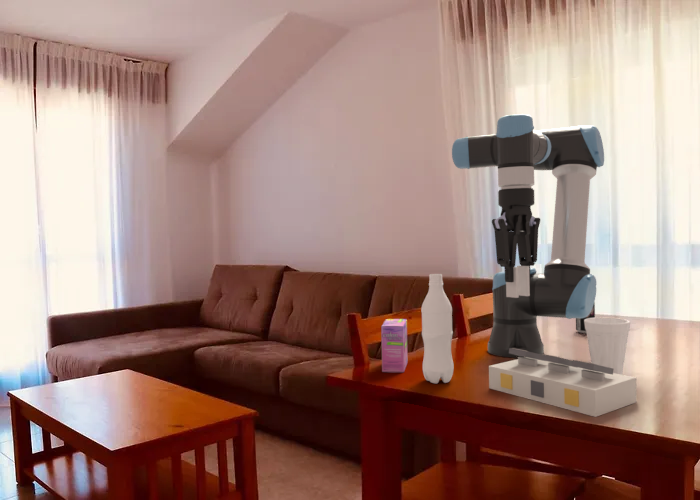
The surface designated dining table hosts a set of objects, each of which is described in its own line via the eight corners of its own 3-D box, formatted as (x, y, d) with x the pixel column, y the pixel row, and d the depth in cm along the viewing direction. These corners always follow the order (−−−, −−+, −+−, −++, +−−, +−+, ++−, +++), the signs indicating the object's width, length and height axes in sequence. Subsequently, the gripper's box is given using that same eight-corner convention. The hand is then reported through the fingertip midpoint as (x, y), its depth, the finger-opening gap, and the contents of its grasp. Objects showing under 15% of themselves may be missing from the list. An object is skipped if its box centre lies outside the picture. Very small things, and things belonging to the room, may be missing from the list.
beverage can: (596, 331, 196) (596, 294, 196) (593, 334, 191) (592, 296, 191) (578, 330, 199) (577, 293, 199) (574, 333, 195) (573, 295, 194)
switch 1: (528, 357, 138) (529, 352, 138) (545, 361, 134) (546, 355, 134) (508, 353, 134) (509, 347, 134) (525, 356, 130) (526, 350, 130)
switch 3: (591, 370, 125) (592, 364, 125) (612, 374, 121) (613, 368, 121) (571, 365, 121) (573, 359, 121) (592, 370, 117) (593, 363, 117)
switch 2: (558, 363, 131) (559, 357, 131) (577, 367, 128) (578, 361, 128) (538, 359, 127) (539, 353, 128) (557, 363, 124) (558, 356, 124)
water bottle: (453, 385, 138) (450, 275, 137) (421, 384, 139) (418, 276, 138) (454, 377, 145) (451, 272, 144) (424, 376, 146) (421, 273, 145)
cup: (627, 383, 135) (627, 325, 134) (580, 378, 140) (579, 322, 139) (633, 373, 143) (633, 318, 143) (588, 369, 148) (588, 316, 148)
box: (404, 372, 151) (403, 325, 150) (381, 372, 152) (380, 325, 151) (408, 363, 161) (407, 318, 161) (386, 362, 162) (385, 318, 162)
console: (530, 377, 142) (529, 350, 142) (636, 402, 121) (636, 370, 121) (488, 388, 134) (487, 359, 134) (594, 417, 113) (594, 383, 113)
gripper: (526, 189, 138) (527, 291, 140) (477, 188, 129) (479, 298, 130) (553, 187, 132) (555, 294, 133) (504, 186, 123) (506, 301, 124)
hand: (518, 296), depth 132 cm, fingers open, 3 cm apart
